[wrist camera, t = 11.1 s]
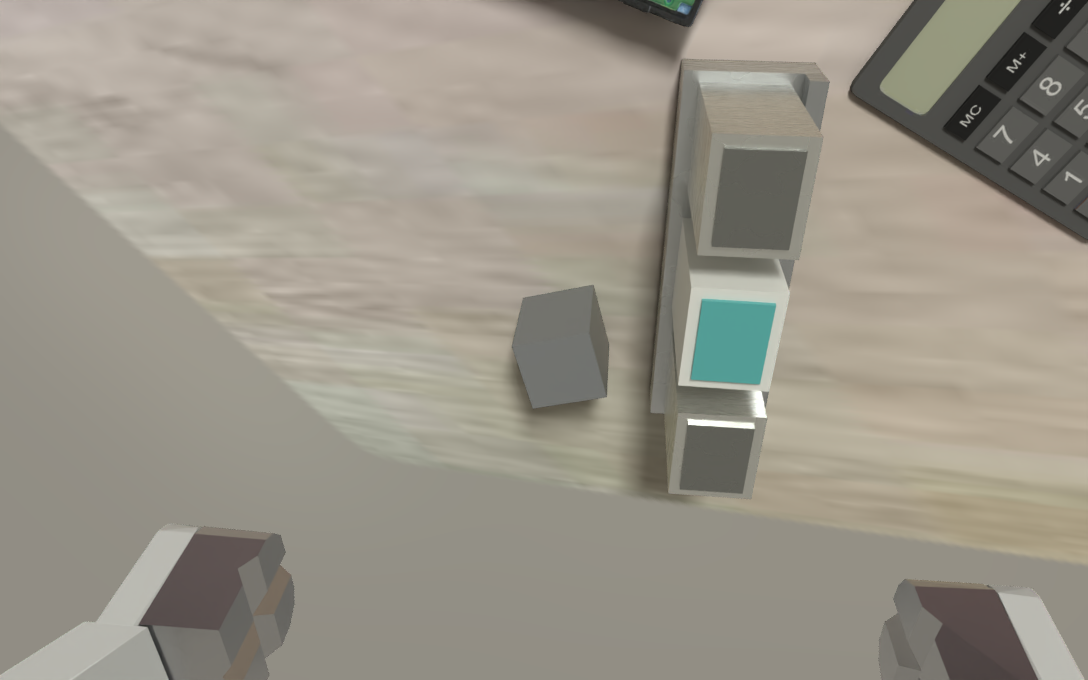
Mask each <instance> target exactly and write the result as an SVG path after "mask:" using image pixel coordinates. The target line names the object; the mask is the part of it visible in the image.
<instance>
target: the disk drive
mask: <svg viewBox="0 0 1088 680" xmlns="http://www.w3.org/2000/svg"><path fill="white" fill-rule="evenodd" d="M619 1H621V2H623V3H624V4H627V5H629V6H631V7H634V8H636V9H639V10H641V11H643V12H646V13H648V12H649V13H652V14H655V15H657V16H660V17H662V18H664V19H667V20H669V21H672V22H674V23H678V24H680V25H682V26H684V27H685V26H686V27H690V26H691V25H692V24H693V22H694V19H695V17H696V15H697V13H698V10H699V8H700V6H701V4H702V1H703V0H619Z"/></svg>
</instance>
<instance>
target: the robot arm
mask: <svg viewBox="0 0 1088 680" xmlns="http://www.w3.org/2000/svg"><path fill="white" fill-rule="evenodd" d="M284 555H285V549H284V545H283V542H282V538H281V535H278V534H274V533H266V532H256V531H245V530H235V529H226V528H216V527H206V526H204V527H202V526H191V525H180V524H170V523H169V524H167V525H166V526H164V527H163V528H162V529H160V530H159V531H158V532H157V533H156V534H155V536H154V537H153V539H152V540H151V542H150V543H149V545H148V546H147V547H146V549H145V550H144V552H143V553H142V555H141V556H140V558H139V559H138V561H137V562H136V564H135V565H134V566H133V568H132V570H131V571H130V572H129V574H128V575H127V577H126V578H125V580H124V581H123V583H122V584H121V586H120V587H119V589H118V590H117V592H116V593H115V594H114V596H113V597H112V599H111V600H110V602H109V603H108V605H107V606H106V608H105V609H104V611H103V612H102V613H101V615H100V617H99V618H98V619H97V621H96V622H83V623H82V624H80V625H79V626H77V627H75V628H74V629H72V630H71V631H69V632H67V633H66V634H64V635H63V636H61V637H59V638H58V639H56V640H55V641H53V642H52V643H50V644H48V645H47V646H45V647H44V648H42V649H41V650H39V651H37V652H36V653H34V654H33V655H31V656H29V657H28V658H26V659H25V660H23V661H22V662H20V663H18V664H17V665H15V666H14V667H12V668H10V669H9V670H7V671H6V672H4V673H3V674H1V675H0V680H267V679H268V677H269V672H268V668H267V665H266V661H265V658H266V657H268V656H269V655H270V654H271V653H273V652H274V651H275V650H276V649H278V648H279V647H280V646H282V644H283V642H284V639H285V636H286V634H287V632H288V629H289V627H290V623H291V618H292V613H293V608H294V585H293V581H292V576H291V574H289V573H288V572H287V571H286V570H285V569H284V568H283V567H282V566H281V565H280V563H281V561H282V559H283V557H284ZM894 602H895V605H896V608H897V611H898V613H897V614H896V615H894V616H893V617H891V618H890V619H888V620H887V621H885V623H884V626H883V629H882V633H881V636H880V639H879V666H880V673H881V678H882V680H1085V679H1084V677H1083V676H1082V674H1081V672H1080V670H1079V668H1078V667H1077V665H1076V663H1075V661H1074V659H1073V657H1072V655H1071V654H1070V652H1069V650H1068V648H1067V646H1066V644H1065V643H1064V641H1063V639H1062V637H1061V635H1060V633H1059V632H1058V630H1057V628H1056V626H1055V624H1054V622H1053V620H1052V619H1051V617H1050V615H1049V613H1048V611H1047V609H1046V607H1045V606H1044V604H1043V602H1042V600H1041V598H1040V596H1039V595H1038V594H1037V593H1036V592H1035V591H1034V590H1032V589H1031V588H1027V587H1013V586H998V585H984V584H976V583H960V582H944V581H928V580H911V579H905V580H903V581H902V583H901V584H899V585H898V588H897V591H896V593H895V595H894Z"/></svg>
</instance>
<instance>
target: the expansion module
mask: <svg viewBox="0 0 1088 680" xmlns="http://www.w3.org/2000/svg"><path fill="white" fill-rule="evenodd" d="M789 296H790V291H789V288H788V286H787V283H786V280H785V277H784V274H783V271H782V268H781V265H780V262H779V259H766V258H744V257H723V256H701V255H697V249H696V243H695V236H694V230H693V223H692V218H682V226H681V234H680V242H679V251H678V259H677V267H676V275H675V283H674V291H673V299H672V317H673V330H674V342H675V354H676V367H677V379H678V385H680V386H694V387H708V388H722V389H737V390H751V391H765V392H769V390H770V385H771V380H772V376H773V371H774V366H775V362H776V357H777V352H778V348H779V343H780V338H781V334H782V329H783V324H784V320H785V315H786V310H787V306H788V301H789Z"/></svg>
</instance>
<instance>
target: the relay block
mask: <svg viewBox="0 0 1088 680" xmlns="http://www.w3.org/2000/svg"><path fill="white" fill-rule="evenodd" d="M512 348H513V351H514V354H515V357H516V360H517V363H518V366H519V369H520V372H521V375H522V378H523V381H524V384H525V387H526V390H527V393H528V396H529V399H530V402H531V405H532V408H540V407H546V406H553V405H559V404H566V403H572V402H579V401H585V400H591V399H598V398H604V397H607V381H608V360H609V342H608V338H607V335H606V331H605V327H604V323H603V319H602V316H601V312H600V308H599V304H598V300H597V296H596V293H595V289H594V285H590V286H584V287H579V288H573V289H568V290H563V291H557V292H552V293H547V294H541V295H536V296H531V297H525V298H523V301H522V306H521V310H520V314H519V319H518V323H517V327H516V331H515V336H514V340H513V344H512Z"/></svg>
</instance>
